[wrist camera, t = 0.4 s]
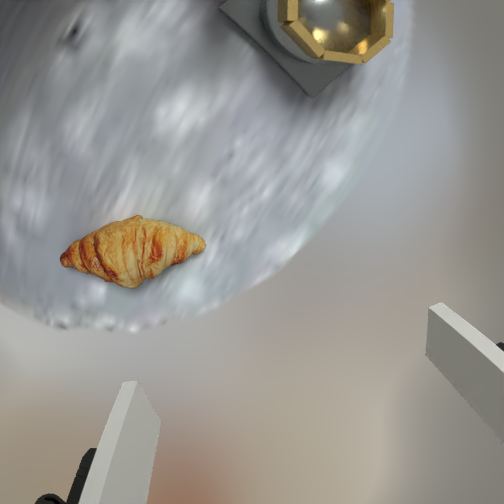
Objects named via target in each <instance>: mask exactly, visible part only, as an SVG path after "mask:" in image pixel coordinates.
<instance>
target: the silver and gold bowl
mask: <svg viewBox="0 0 504 504" xmlns="http://www.w3.org/2000/svg"><path fill="white" fill-rule="evenodd" d="M389 1H390V0H227V1H226V2H224V3H223V4H222V5H221V6H220V7H219V8H218V9H219V10H220V11H221V12H222V13H224V14H225V15H226V16H227V17H228V18H229V19H231V20H232V21H233V22H234V23H235V24H236V25H237V26H239V27H240V28H241V29H242V30H243V31H244V32H245V33H246V34H247V35H249V36H250V37H251V38H252V39H253V40H254V41H255V42H256V43H257V44H258V45H259V46H260V47H261V48H262V49H263V50H264V51H265V52H267V53H268V54H269V55H270V56H271V57H272V58H273V59H274V60H275V61H276V62H277V63H278V64H279V65H280V66H281V67H282V68H283V70H284V71H285V72H286V73H287V74H288V75H289V76H290V77H291V78H292V79H293V80H294V81H295V82H296V83H297V84H298V85H299V86H300V87H301V89H302V90H303V91H304V92H305V93H306V94H307V95H308V96H309V97H311V98H314V97H315V96H316V95H317V94H318V93H319V92H320V91H322V90H323V89H324V88H325V87H326V86H327V85H328V84H329V83H330V82H331V81H333V80H334V79H335V78H336V77H337V76H338V75H339V74H340V73H342V72H343V71H344V70H345V69H346V68H347V67H348V66H350V65H351V64H354V63H355V64H361V65H362V63H367V62H368V61H369V60H370V59H371V58H372V57H374V56H375V55H376V54H377V53H378V52H379V51H381V50H382V49H383V48H384V47H385V46H386V45H388V44H389V43H390V42H391V41H390V40H389V38H393V16H394V3H391V2H389Z"/></svg>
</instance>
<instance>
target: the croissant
mask: <svg viewBox="0 0 504 504" xmlns="http://www.w3.org/2000/svg"><path fill="white" fill-rule="evenodd" d="M205 247H206V244H205V242H204V240H203V238H201V237H200V236H199V235H196V234H194V233H191V232H189V231H187V230H185V229H183V228H182V227H179V226H176V225H172V224H170V223H166V222H163V221H160V220H152V219H142V216H140V215H137V216H134V217H132V218H129V219H125V220H123V221H116V222H113V223H110V224H108V225H105V226H103V227H102V228H100V229H99V230H97V231H95V232H92V233H91V234H89V235H87V236H85V237H84V238H82V239H81V240H78V241H76V242H74V243H73V244H72V245H71V246H70V247H69V248H68V249H67V250H66V251H65V252H64V253H63V254H62V255H61V257H60V262H61V264H62V266H64V267H75V269H77V270H78V271H81V272H85V273H87V274H88V273H92V274H94V275H96V276H98V277H100V278H102V279H104V280H105V282H115V283H117V284H118V285H120V286H122V287H127V288H136V287H138V286H139V285H140V284H142V282H143V280H144V279H145V278H146V279H150V278H154V276H158V275H159V274H160V273H161V272H162V270H164V269H165V268H167V267H169V266H172V265H175V264H179V263H182V262H183V261H185V260H186V259H187V258H188V257H190V255H191V254H198V253H200V252H201V251H203V250H204V248H205Z"/></svg>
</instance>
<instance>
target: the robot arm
mask: <svg viewBox="0 0 504 504" xmlns="http://www.w3.org/2000/svg"><path fill="white" fill-rule="evenodd" d="M428 310H429V311H428V330H427V343H426V354H425V355H426V356H427V357H428V359H429V360H430V361H431V362H432V363H433V364H434V365H435V366H436V367H437V368H438V370H439V371H440V372H441V373H442V374H443V375H444V376H445V377H446V379H447V380H448V381H449V382H450V383H451V384H452V385H453V387H454V388H455V389H456V390H457V391H458V392H459V393H460V395H461V396H462V397H463V398H464V399H465V400H466V401H467V403H468V404H469V405H470V406H471V407H472V408H473V410H474V411H475V412H476V413H477V414H478V416H479V417H480V418H481V419H482V420H483V422H484V423H485V424H486V425H487V426H488V428H489V429H490V430H491V431H492V433H493V434H494V435H495V436H496V437H497V439H498V440H499V441H500V442H501V444H502V443H503V442H504V343H501V342H500V343H498V344H496V345H495V344H494V343H493V342H491V341H490V340H489V339H488V338H487V337H485V336H484V335H483V334H481V333H480V332H479V331H478V330H476V329H475V328H474V327H473V326H472V325H470V324H469V323H468V322H466V321H465V320H464V319H463V318H461V317H460V316H459V315H457V314H456V313H455V312H454V311H452V310H451V309H450V308H448V307H447V306H446V305H444V304H443V303H438V304H436V305H433V306H431V307H429V308H428ZM160 427H161V420H160V419H159V417H158V415H157V414H156V412H155V410H154V409H153V407H152V405H151V403H150V402H149V400H148V398H147V396H146V394H145V393H144V391H143V389H142V387H141V385H140V383H139V382H138V380H137V381H128V382H123V383H122V386H121V388H120V391H119V393H118V396H117V398H116V401H115V404H114V406H113V409H112V411H111V413H110V416H109V419H108V421H107V424H106V426H105V429H104V432H103V434H102V437H101V440H100V442H99V445H98V448H90V449H89V450H88V451H87V453H86V454H85V455H84V456H83V458H82V460H81V463H80V465H79V469H78V471H77V473H76V477H75V479H74V482H73V484H72V487H71V490H70V493H69V496H68V499H67V502H64V501H63V500H62V499H61V498H60V497H59V496H57V495H55V494H45V495H42V496H41V497H40V498H38V500H37V501H36V502H35V504H146V503H147V496H148V490H149V485H150V479H151V474H152V468H153V463H154V458H155V452H156V447H157V442H158V437H159V432H160Z"/></svg>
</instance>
